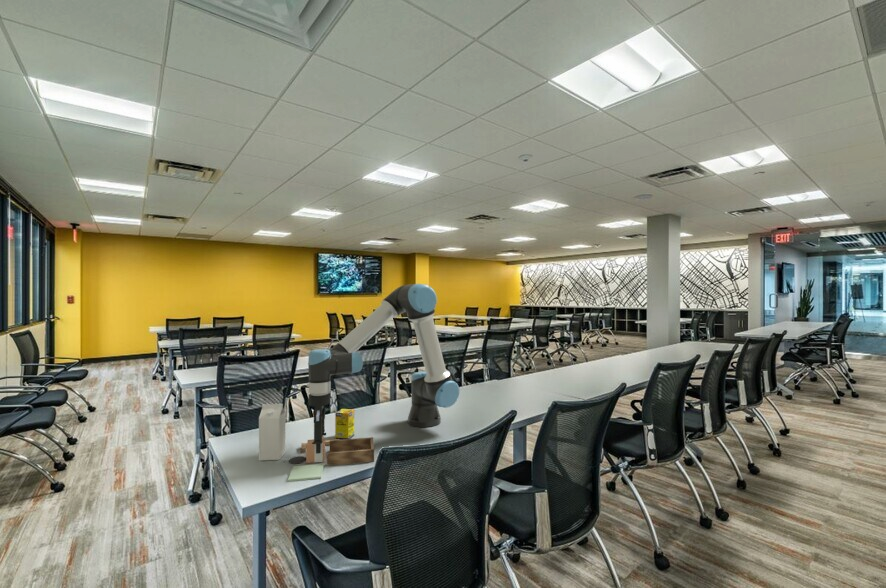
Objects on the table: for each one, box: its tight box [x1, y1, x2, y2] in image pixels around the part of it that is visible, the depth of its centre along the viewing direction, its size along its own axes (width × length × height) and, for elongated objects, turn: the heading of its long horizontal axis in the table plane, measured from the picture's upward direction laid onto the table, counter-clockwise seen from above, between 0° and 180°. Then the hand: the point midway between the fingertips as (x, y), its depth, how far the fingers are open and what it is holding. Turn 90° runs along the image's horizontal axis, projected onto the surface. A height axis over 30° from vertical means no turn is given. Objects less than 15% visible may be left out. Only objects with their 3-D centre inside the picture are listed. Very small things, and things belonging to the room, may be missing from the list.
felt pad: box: [287, 463, 325, 482], centre depth 133 cm, size 10×10×1 cm
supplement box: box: [334, 408, 355, 440], centre depth 166 cm, size 6×6×11 cm
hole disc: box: [288, 455, 306, 465], centre depth 143 cm, size 6×6×1 cm
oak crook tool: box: [300, 439, 339, 454], centre depth 155 cm, size 14×6×2 cm, turn 108°
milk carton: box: [258, 403, 286, 461], centre depth 147 cm, size 7×7×19 cm
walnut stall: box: [326, 436, 375, 466], centre depth 147 cm, size 16×13×4 cm
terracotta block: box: [305, 438, 326, 464], centre depth 144 cm, size 6×6×6 cm
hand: (319, 457), depth 144 cm, fingers closed on terracotta block, 6 cm apart
